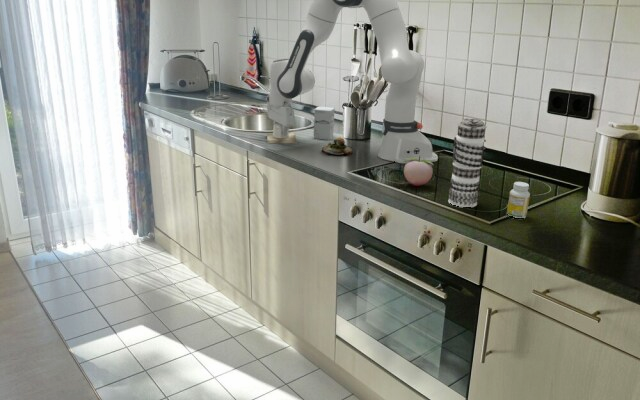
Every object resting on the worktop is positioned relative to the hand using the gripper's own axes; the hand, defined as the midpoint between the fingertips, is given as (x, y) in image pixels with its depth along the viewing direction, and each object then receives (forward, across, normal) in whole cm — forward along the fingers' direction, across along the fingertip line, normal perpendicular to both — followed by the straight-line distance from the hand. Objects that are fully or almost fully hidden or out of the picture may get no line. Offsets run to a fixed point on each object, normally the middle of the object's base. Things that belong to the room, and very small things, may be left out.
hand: (280, 133), depth 233 cm
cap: (+1, 0, 0) cm, 1 cm away
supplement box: (+3, -2, -19) cm, 19 cm away
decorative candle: (+3, -89, -21) cm, 92 cm away
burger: (+3, -26, -13) cm, 29 cm away
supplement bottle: (+3, -104, -28) cm, 108 cm away
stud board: (+3, 0, 0) cm, 3 cm away
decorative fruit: (+3, -72, -17) cm, 74 cm away
